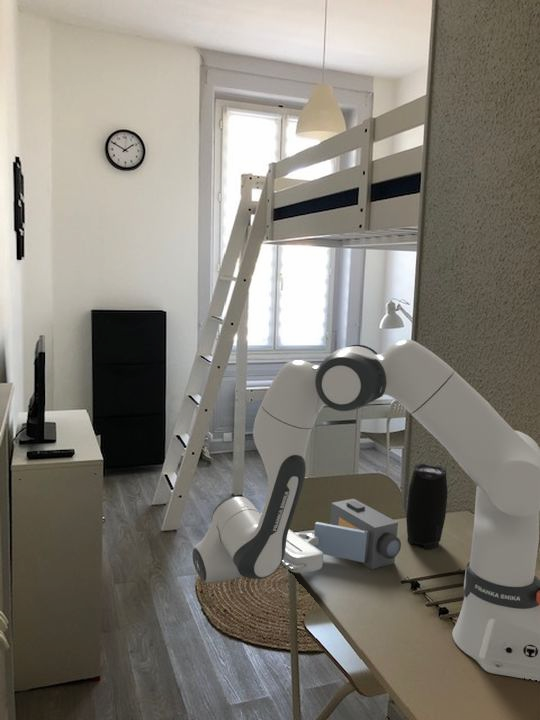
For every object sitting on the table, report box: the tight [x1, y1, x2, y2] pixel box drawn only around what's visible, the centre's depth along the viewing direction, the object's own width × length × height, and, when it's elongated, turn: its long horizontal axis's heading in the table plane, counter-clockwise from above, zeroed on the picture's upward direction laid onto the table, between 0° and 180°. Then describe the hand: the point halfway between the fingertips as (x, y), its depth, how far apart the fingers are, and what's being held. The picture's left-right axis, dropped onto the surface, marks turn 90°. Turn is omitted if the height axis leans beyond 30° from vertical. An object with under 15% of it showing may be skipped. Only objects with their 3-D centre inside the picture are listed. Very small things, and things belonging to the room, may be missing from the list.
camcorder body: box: [329, 498, 402, 570], centre depth 145 cm, size 19×7×11 cm, turn 32°
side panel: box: [313, 521, 370, 563], centre depth 140 cm, size 13×1×7 cm, turn 72°
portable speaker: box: [405, 463, 448, 550], centre depth 153 cm, size 9×9×20 cm
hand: (314, 538), depth 140 cm, fingers closed
